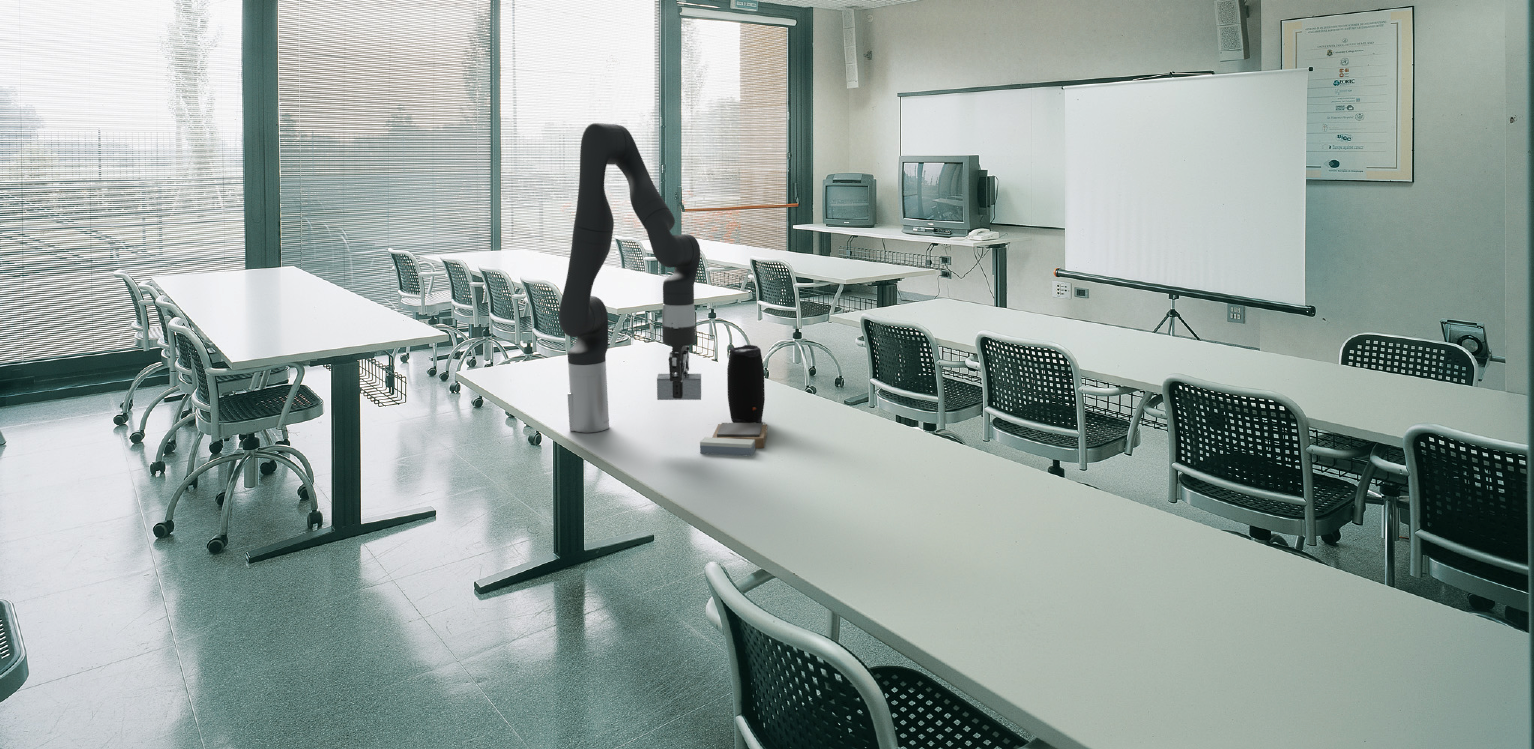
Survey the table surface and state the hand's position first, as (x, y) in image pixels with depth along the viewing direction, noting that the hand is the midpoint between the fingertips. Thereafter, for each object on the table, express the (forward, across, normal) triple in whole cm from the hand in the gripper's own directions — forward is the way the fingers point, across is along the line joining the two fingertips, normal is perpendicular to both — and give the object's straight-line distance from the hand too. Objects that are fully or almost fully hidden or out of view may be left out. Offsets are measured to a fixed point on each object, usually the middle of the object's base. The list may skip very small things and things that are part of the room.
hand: (679, 394), depth 222 cm
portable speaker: (+13, -21, +14) cm, 28 cm away
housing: (+1, 0, 0) cm, 1 cm away
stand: (+12, -5, +14) cm, 19 cm away
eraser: (+13, +4, +12) cm, 18 cm away
